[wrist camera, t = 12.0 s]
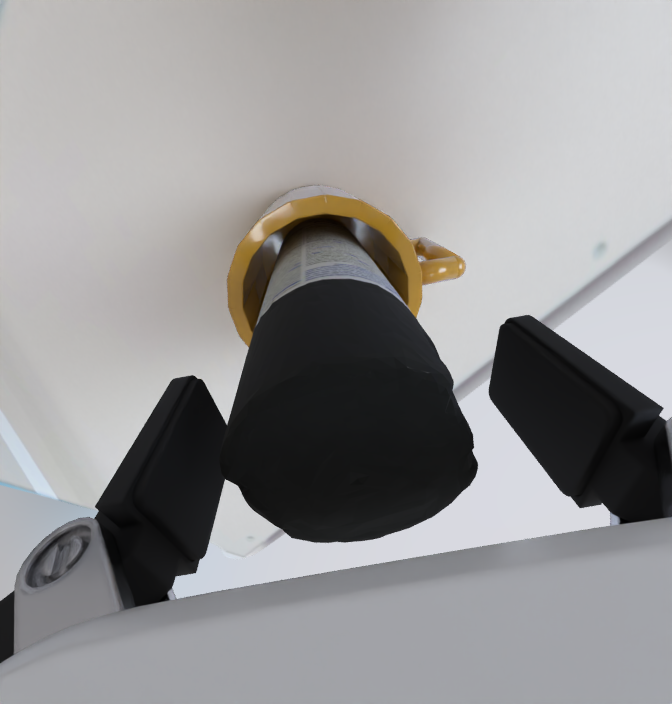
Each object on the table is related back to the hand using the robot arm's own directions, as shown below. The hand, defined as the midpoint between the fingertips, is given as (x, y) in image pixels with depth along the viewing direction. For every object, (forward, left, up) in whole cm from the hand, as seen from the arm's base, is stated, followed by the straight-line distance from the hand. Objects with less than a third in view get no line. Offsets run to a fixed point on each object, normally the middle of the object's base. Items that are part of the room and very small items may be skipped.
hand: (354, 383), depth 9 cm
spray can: (+1, 0, -17) cm, 17 cm away
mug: (-1, +1, -18) cm, 18 cm away
